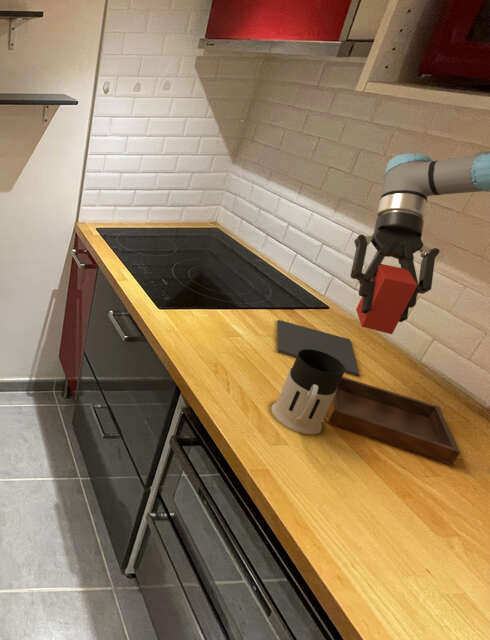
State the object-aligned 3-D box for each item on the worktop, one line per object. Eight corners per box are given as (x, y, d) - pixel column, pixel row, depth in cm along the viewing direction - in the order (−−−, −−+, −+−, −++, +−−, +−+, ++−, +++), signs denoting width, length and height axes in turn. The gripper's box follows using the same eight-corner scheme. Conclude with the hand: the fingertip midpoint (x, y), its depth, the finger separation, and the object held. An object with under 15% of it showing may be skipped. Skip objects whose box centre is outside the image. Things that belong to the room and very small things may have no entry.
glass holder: (322, 415, 94) (349, 359, 88) (318, 459, 84) (348, 399, 78) (274, 396, 99) (296, 341, 93) (264, 435, 89) (288, 377, 83)
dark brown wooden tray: (431, 419, 94) (439, 406, 93) (451, 466, 84) (460, 452, 82) (322, 384, 103) (328, 372, 102) (327, 422, 93) (334, 409, 91)
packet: (384, 316, 99) (408, 269, 94) (392, 334, 93) (417, 285, 88) (355, 309, 102) (377, 263, 97) (361, 326, 96) (384, 278, 91)
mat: (348, 341, 118) (350, 339, 118) (357, 376, 106) (358, 373, 106) (277, 321, 126) (278, 319, 126) (277, 351, 114) (278, 349, 113)
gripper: (446, 235, 98) (432, 334, 92) (342, 217, 106) (324, 307, 101) (466, 220, 91) (453, 325, 86) (354, 202, 100) (335, 297, 94)
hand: (383, 315), depth 93 cm, fingers closed on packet, 5 cm apart
